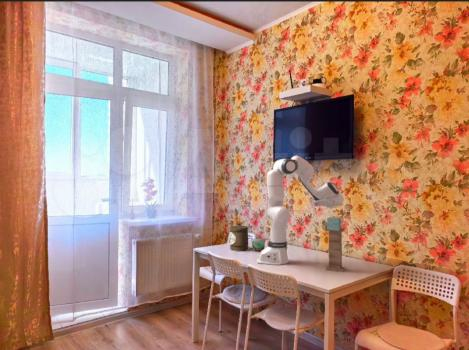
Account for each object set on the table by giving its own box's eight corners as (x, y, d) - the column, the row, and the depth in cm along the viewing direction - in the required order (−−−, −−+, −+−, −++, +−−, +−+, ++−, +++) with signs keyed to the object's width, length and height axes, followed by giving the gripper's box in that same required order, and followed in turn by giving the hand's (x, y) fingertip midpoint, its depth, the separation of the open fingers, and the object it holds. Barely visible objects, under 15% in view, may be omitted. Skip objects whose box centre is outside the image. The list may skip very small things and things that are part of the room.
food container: (253, 252, 256) (253, 239, 256) (251, 251, 262) (250, 238, 262) (268, 251, 259) (268, 238, 259) (265, 250, 265) (265, 237, 265)
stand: (328, 267, 214) (328, 227, 215) (344, 269, 210) (344, 228, 210) (326, 269, 208) (326, 228, 208) (342, 271, 204) (342, 229, 204)
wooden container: (229, 247, 276) (229, 221, 276) (247, 246, 277) (246, 220, 277) (231, 251, 261) (230, 223, 261) (249, 250, 262) (249, 223, 262)
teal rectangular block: (333, 225, 222) (333, 215, 222) (344, 226, 218) (344, 215, 219) (327, 229, 204) (327, 218, 204) (338, 230, 201) (338, 219, 201)
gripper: (316, 198, 239) (306, 200, 229) (343, 195, 226) (334, 197, 216) (317, 207, 239) (308, 209, 228) (344, 204, 226) (336, 206, 215)
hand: (321, 203), depth 222 cm, fingers open, 8 cm apart
